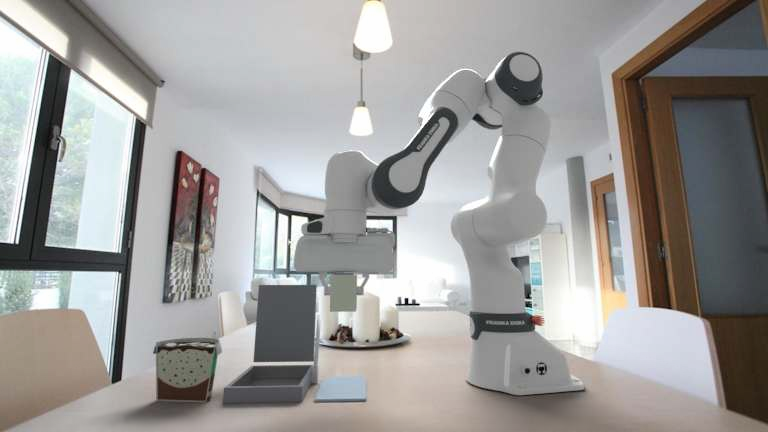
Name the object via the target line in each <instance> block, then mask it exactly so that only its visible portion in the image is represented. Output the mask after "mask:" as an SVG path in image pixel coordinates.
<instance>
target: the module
mask: <svg viewBox="0 0 768 432" xmlns="http://www.w3.org/2000/svg"><path fill="white" fill-rule="evenodd" d="M329 281H330V285H329V286H330V295H329V312H331V313H332V312H334V313H335V312H336V313H337V312H339V313H340V312H345V313H347V312H348V313H349V312H357V309H358V307H357V306H358V295H356V292H357V286H358V275H357V274H355V272H334V274H330V280H329Z"/></svg>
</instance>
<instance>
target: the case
mask: <svg viewBox="0 0 768 432" xmlns="http://www.w3.org/2000/svg"><path fill="white" fill-rule="evenodd" d="M321 326H322V314H318V315H317V320H316V330H315V347H314V362H313V364H292V365H291V364H288V365H287V364H282V365H280V364H279V365H277V364H276V365H275V364H274V365H270V364H267V365H251V366H249V367H248V368H247V369H246V370H244V371H243V372H242V373H241V374H239V375H238V376H237V377H235V379H233V380H232V381H230V383H228V384H227V385H226V386H224V387H223V394H222V395H223V396H222V398H223V399H222V404H235V403H236V404H239V403H240V404H241V403H242V404H243V403H244V404H245V403H246V404H249V403H252V404H253V403H295V402H296V403H297V402H299V403H302V402H303V401H304V398H305V397H306V395H307V393H308V391H309V388H310V386H311V384H318V382H319V365H318V364H319V363H318V362H319V351H320V349H319V348H320V340H321V339H320V337H321ZM255 379H257V380H258V379H259V380H260V379H261V380H263V379H301V381H300V383H299V384H298V385H297V384H296V385H295V384H294V385H293V384H292V385H249V384H250V383H251V382H252V381H254V380H255Z"/></svg>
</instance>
